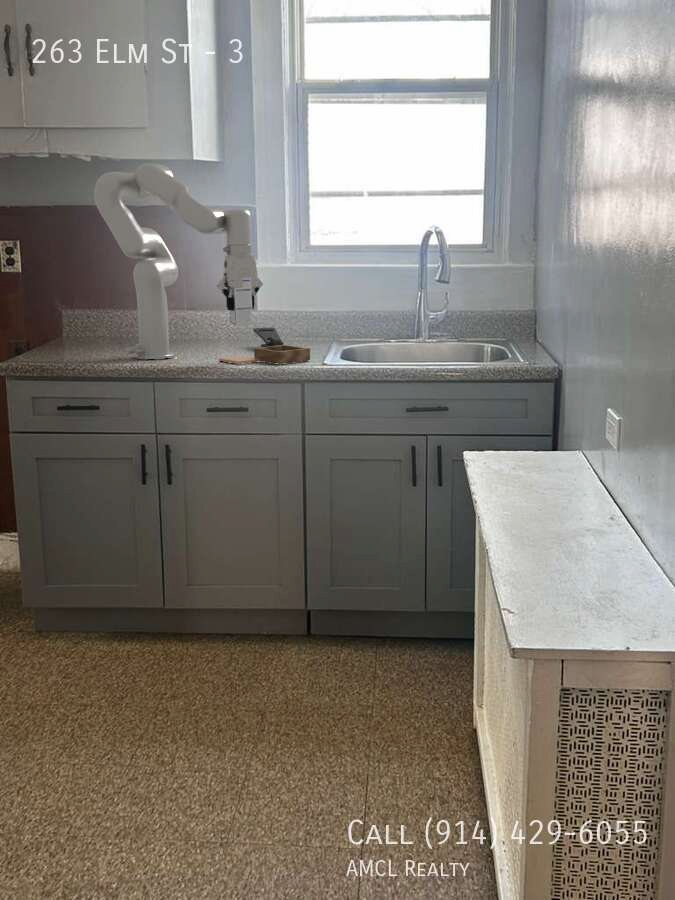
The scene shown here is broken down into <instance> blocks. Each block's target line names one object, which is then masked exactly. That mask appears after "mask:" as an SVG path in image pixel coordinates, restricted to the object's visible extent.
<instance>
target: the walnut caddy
mask: <svg viewBox="0 0 675 900" xmlns="http://www.w3.org/2000/svg"><path fill="white" fill-rule="evenodd" d="M253 350H254V351H253V354H254V355H253V357H254V358H259V359H261V361H265V362H271V363H278V364H284V363H292V364H294V363H293V362H300V363H302V362H301V361H307V362H309V361H308V360H310V361H311V348H309V347H302V346H297V345H296V346H293V345H287V344H283V345H279V346H270V347H262V348H261V347H256V348H255V347H254V348H253Z"/></svg>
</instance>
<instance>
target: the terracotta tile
mask: <svg viewBox="0 0 675 900" xmlns="http://www.w3.org/2000/svg"><path fill="white" fill-rule="evenodd" d="M219 361H223V362H222V363H224V362H231V363H237V364H242V363H249V362H257V361H261V359H259V358H254V356H249V355H236V356H227V357H219V358H218V362H219ZM231 363H230V364H231ZM237 364H236V365H237ZM242 365H243V364H242Z"/></svg>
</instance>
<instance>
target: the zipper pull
mask: <svg viewBox="0 0 675 900" xmlns="http://www.w3.org/2000/svg"><path fill="white" fill-rule="evenodd" d="M252 329H253V330H252V331H253V332H254V333H255V334H256V335H257V336H258V337H259V338H260V339H261V340H262V341H263V342H264V343H262V344H260V348H262V347H270V346H279V345H284V342H283V340H282V338H281V337H280V335H279V333H278V331H277V329H276V328H275V327H255V328H252Z"/></svg>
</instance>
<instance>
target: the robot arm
mask: <svg viewBox="0 0 675 900" xmlns="http://www.w3.org/2000/svg"><path fill="white" fill-rule="evenodd" d="M93 194H94V195H93V196H94V203H95V206H96V208H97V210H98V211H99V213H100V215H101V218H103V220H104V221H105V223H106V225H107V226H108V228H109V229H110V230H109V231H110V232H111V234H112V236H113V237H114V238H115V241H116V242H117V244H118V246H119V247H120V249H121V251H122V252H123V254H124V255H125V256H126V257H128V258H130V259H141V260H140V261H138V262H137V263H136V264H135V266H134V269H133V278H132V279H133V282H134V288H135V293H136V306H137V325H138V327H137V329H138V343H135V346H132V347H126V349H125V352H126V354H128V355H129V354H131V355H132V354H134V358H135V359H136V360H137V359H139V360H148V359H155V360H166V359H165V358H168V359H171V358H174V357H175V353H174V352H173V351H170V336H169V335H170V334H169V330H170V329H169V309H168V298H167V297H168V296H167V293H166V289H165V287H169V286H171V285H173V284H174V283H175V282H176V281H177V279H178V277H179V268H178V265H177V262H176V260H175V258H173V255H172V253H171V252H170V250H169V249H168V248H169V247H168V246H167V245H166V243H165V241H164V240H163V239H162V237H161V236H160V234H158V232H157V231H155V230H154V229H152V228H150V227H141V226H140V225H139V223H138V221H137V220H136V218H135V216H134V215H133V212H131V210H130V209H129V208H128V206H126V205H125V203H124V202H123V200H124V201H125V200H126V201H131V200H138V199H142V198H145V197H149V196H152V197H153V198H154V199H156V200H158V201H159V202H160V203H162V204H164V205H165V206H167V207H168V208H169V209H170V210H171V211H173V213H174V214H175V216H177V218H179V219H180V220H181V221H182V222H183V223H185V224H186V225H188V226H190V227H191V228H193V229H194V230H195V231H197V232H199V233H201V234H205V235H221V234H226V236H225V237H226V245H225V247H223V248H222V250H223V252H224V253H225V252H226V255H225V257H224V261H223V272H222V278H221V280H220V281H218V283H217V284H216V288H218V290H219V291H220V292H221V293H222V295H224V297H225V298H226V299H225V300H226V308H227V311H230V310H231V311H233V310H234V298H233V297H232V295H233V288H234V289H235V288H241V287H243V280H244V279H243V278H244V277H249V278H251V293H252V310H254V309H255V297H256V296H257V293H258V292H259V291H260V288H261V287H262V286H264V285H263V282H262V281H261V280H260V279H259V276H258V267H257V263H256V262H257V261H256V258H255V255H254V254H252V223H251V222H252V219H251V212H250V211H249V210H248V209H222V208H207V207H206V206H204V205H202V204H201V203H200V202H198V201H197V200H195V199H194V198H193V197H192V196H191V195H190V194H189V188H188V186H187V185H186V184H185V183H183V182H182V181H180V180H178V179H177V178H175V177H174V174H173V172H172V170H171V169H170V168H169V167H167V165H163V164H162V163H161V164H159V163H150V162H149V163H143V164H141V165H139V167H138V168H137V169H136V170H135V171H131V172H125V171H124V172H123V171H109V172H106V173H104V174H102V175H101V176H100V177H98V180H97V181H96V184H95V187H94V191H93ZM241 279H242V280H241Z"/></svg>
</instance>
